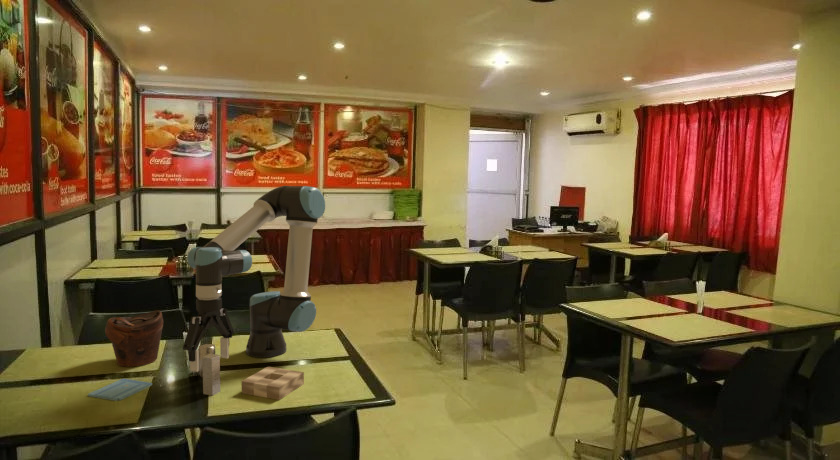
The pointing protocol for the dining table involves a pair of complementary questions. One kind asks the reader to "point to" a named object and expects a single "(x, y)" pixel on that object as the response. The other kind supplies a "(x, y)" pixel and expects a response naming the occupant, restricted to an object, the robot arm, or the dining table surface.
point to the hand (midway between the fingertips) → (210, 364)
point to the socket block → (272, 383)
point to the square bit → (211, 374)
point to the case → (135, 338)
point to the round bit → (205, 351)
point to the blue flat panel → (120, 389)
